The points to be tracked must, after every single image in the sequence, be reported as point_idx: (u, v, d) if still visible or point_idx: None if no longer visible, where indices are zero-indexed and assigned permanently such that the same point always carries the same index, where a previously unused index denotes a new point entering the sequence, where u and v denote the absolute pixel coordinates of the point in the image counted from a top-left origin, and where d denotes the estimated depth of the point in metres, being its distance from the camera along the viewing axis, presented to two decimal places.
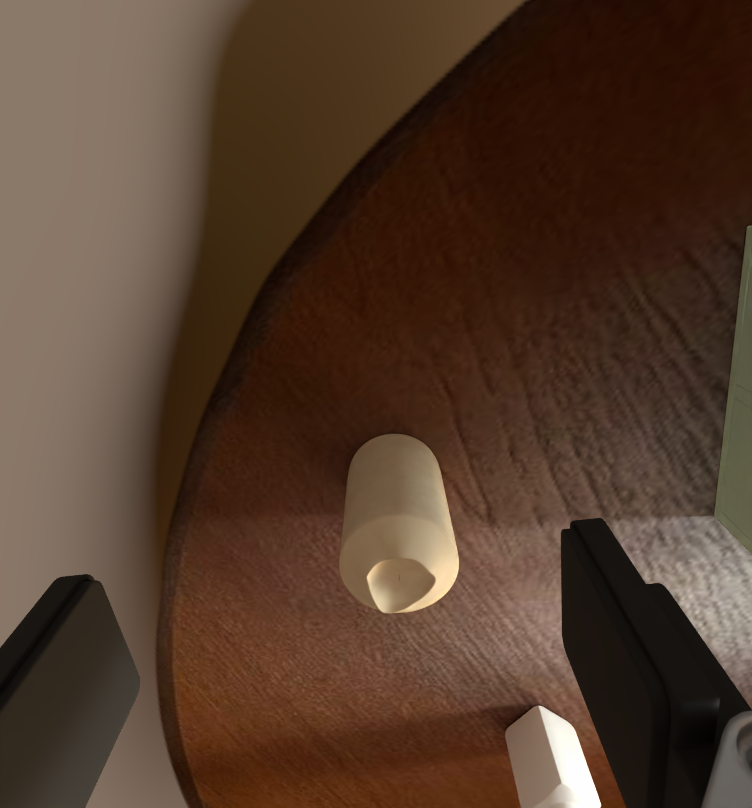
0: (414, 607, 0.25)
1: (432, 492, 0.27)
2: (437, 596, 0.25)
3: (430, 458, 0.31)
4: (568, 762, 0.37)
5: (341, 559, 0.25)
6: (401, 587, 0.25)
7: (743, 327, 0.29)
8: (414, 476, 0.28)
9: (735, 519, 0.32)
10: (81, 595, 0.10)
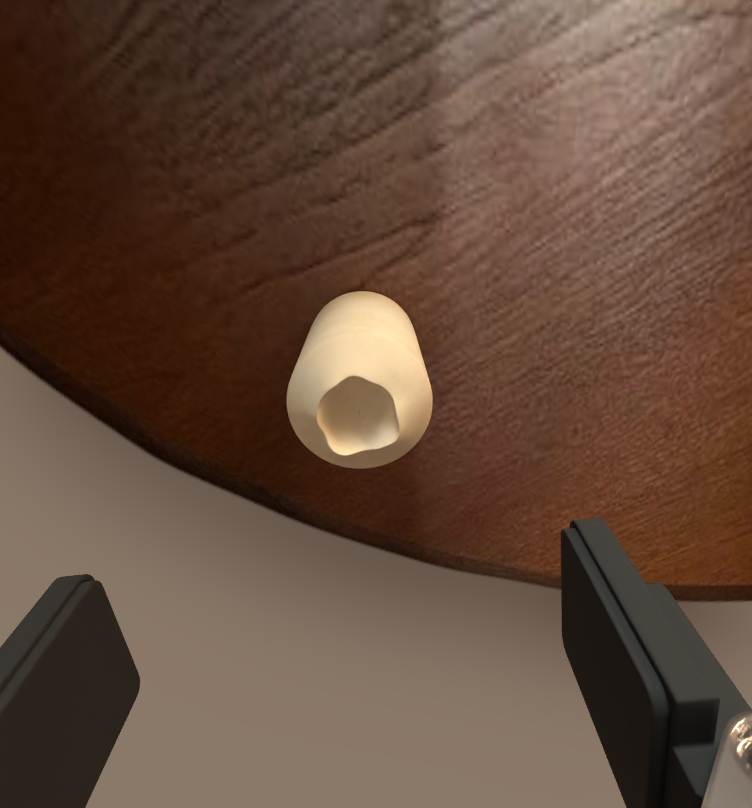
0: (405, 395, 0.20)
1: (308, 340, 0.23)
2: (394, 364, 0.20)
3: (321, 312, 0.26)
4: None
5: (349, 467, 0.22)
6: (377, 408, 0.20)
7: None
8: None
9: None
10: (81, 595, 0.10)
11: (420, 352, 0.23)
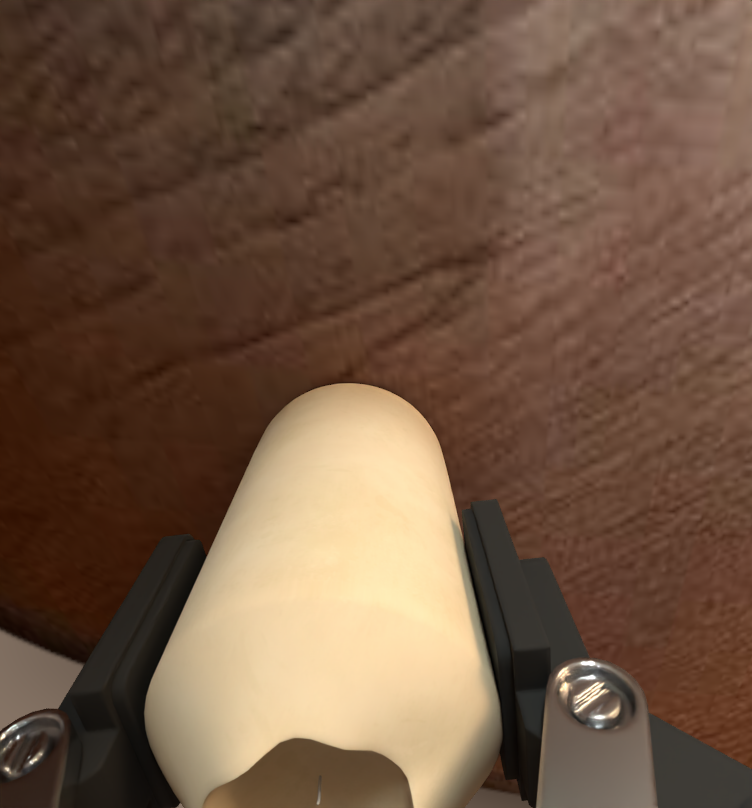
0: (439, 759, 0.07)
1: (221, 533, 0.10)
2: (411, 684, 0.07)
3: (271, 430, 0.14)
4: None
5: None
6: (368, 777, 0.08)
7: None
8: None
9: None
10: (189, 551, 0.11)
11: (463, 549, 0.11)
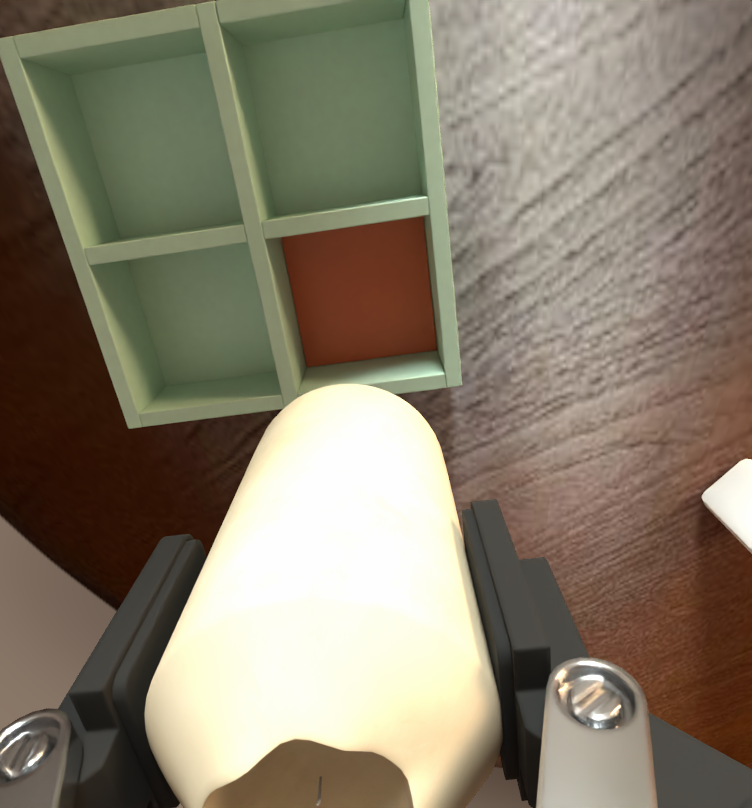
0: (439, 760, 0.07)
1: (221, 534, 0.10)
2: (412, 684, 0.07)
3: (271, 431, 0.14)
4: (751, 518, 0.31)
5: None
6: (367, 777, 0.08)
7: None
8: None
9: None
10: (189, 551, 0.11)
11: (463, 550, 0.11)
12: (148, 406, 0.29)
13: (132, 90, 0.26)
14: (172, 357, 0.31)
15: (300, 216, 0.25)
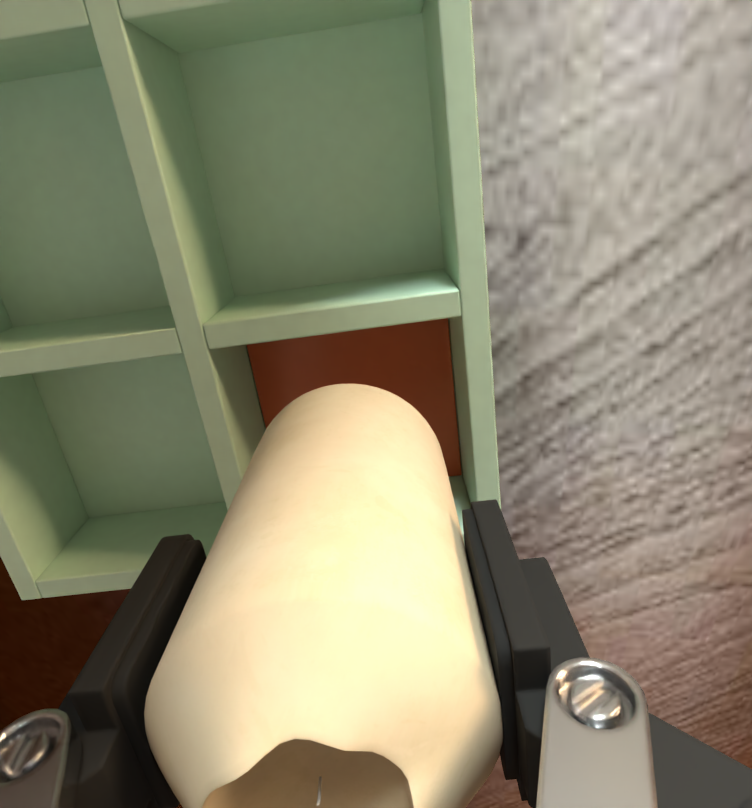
0: (440, 760, 0.07)
1: (221, 533, 0.10)
2: (412, 684, 0.07)
3: (271, 430, 0.14)
4: None
5: None
6: (368, 777, 0.08)
7: None
8: None
9: None
10: (189, 551, 0.11)
11: (463, 549, 0.11)
12: (52, 565, 0.20)
13: (15, 118, 0.18)
14: (95, 481, 0.23)
15: (262, 317, 0.16)
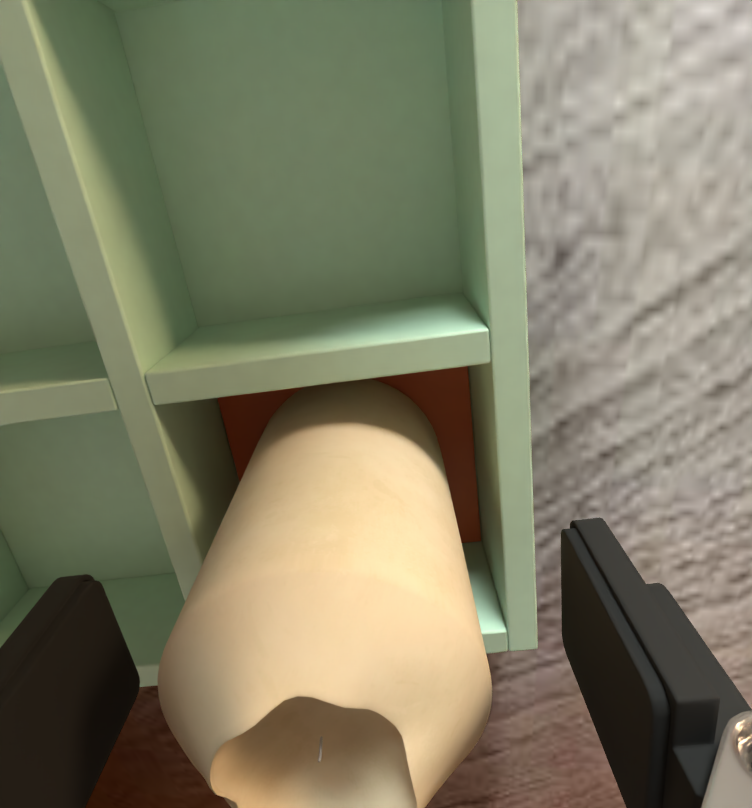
0: (431, 719, 0.08)
1: (228, 516, 0.11)
2: (406, 649, 0.08)
3: (274, 421, 0.15)
4: None
5: None
6: (365, 736, 0.08)
7: None
8: None
9: None
10: (81, 595, 0.10)
11: (457, 532, 0.12)
12: None
13: None
14: (35, 547, 0.19)
15: (223, 364, 0.12)
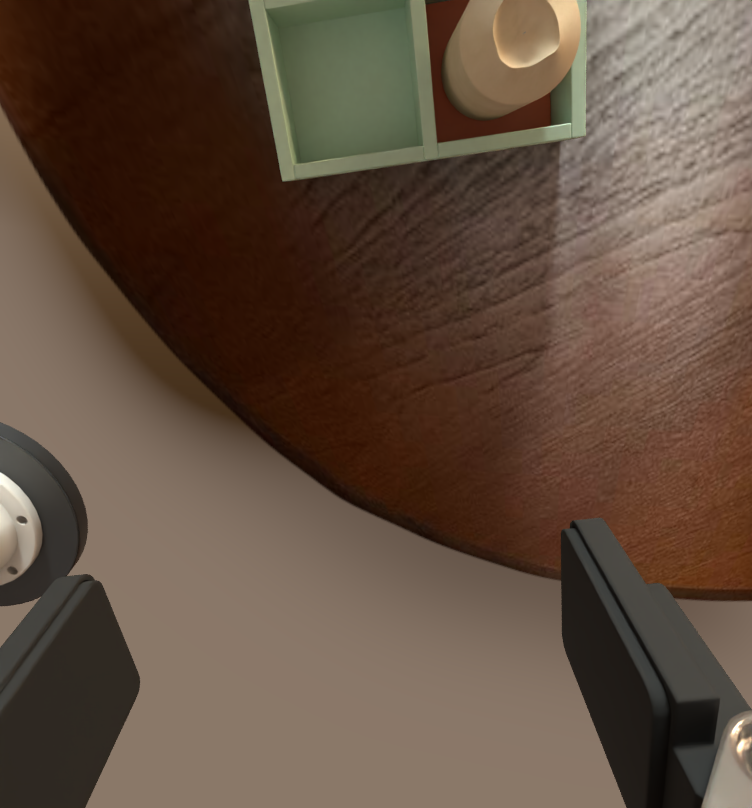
0: (564, 13, 0.24)
1: None
2: None
3: None
4: None
5: (505, 101, 0.26)
6: (539, 30, 0.24)
7: (369, 169, 0.35)
8: (453, 33, 0.28)
9: None
10: (81, 595, 0.10)
11: None
12: None
13: None
14: (310, 136, 0.35)
15: None
